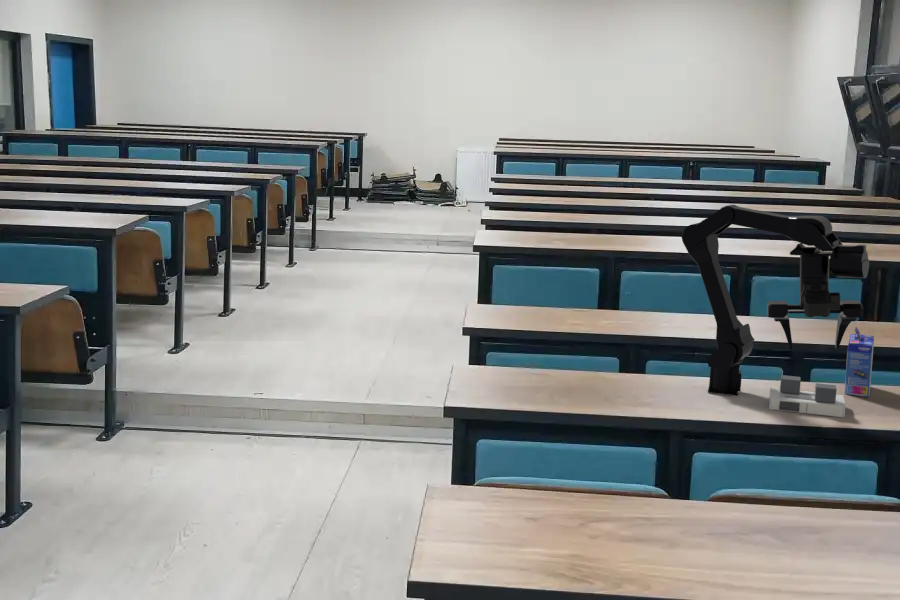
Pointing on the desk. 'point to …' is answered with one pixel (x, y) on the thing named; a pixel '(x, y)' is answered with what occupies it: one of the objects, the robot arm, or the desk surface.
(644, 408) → the desk surface
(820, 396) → the switch near
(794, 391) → the switch far
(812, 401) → the box
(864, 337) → the ink cartridge box
